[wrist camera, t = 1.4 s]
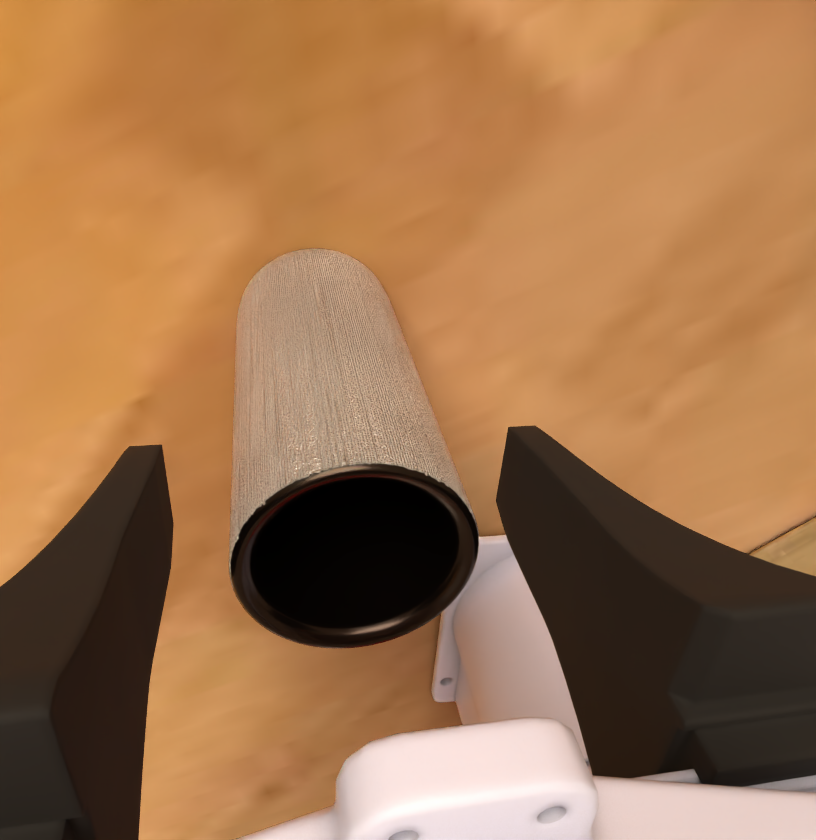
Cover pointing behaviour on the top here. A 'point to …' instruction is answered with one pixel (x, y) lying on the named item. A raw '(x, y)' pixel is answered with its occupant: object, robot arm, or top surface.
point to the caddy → (793, 549)
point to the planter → (338, 463)
